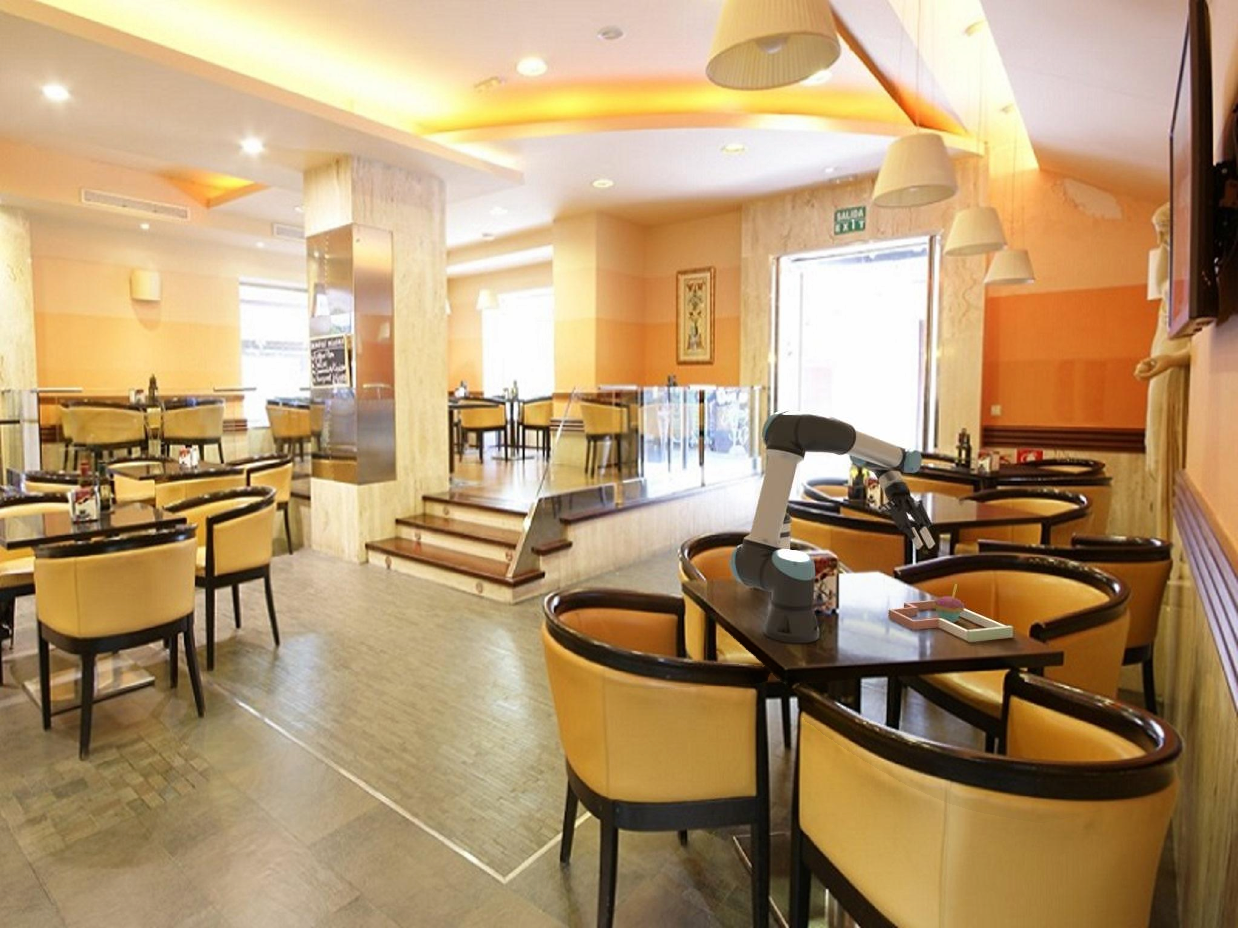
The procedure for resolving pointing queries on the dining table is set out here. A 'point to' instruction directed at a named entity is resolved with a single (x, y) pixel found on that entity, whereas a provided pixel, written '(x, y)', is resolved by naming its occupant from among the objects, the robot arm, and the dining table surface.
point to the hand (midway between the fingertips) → (925, 546)
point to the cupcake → (949, 607)
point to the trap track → (988, 633)
